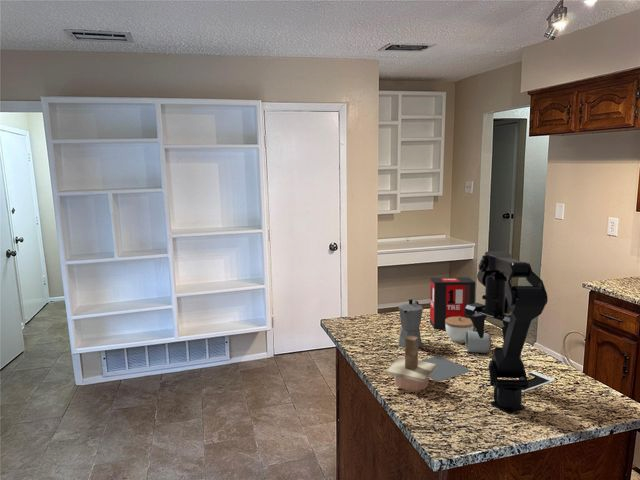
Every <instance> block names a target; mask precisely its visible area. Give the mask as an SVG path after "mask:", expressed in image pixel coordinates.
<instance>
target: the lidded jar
mask: <svg viewBox="0 0 640 480" xmlns="http://www.w3.org/2000/svg"><path fill="white" fill-rule="evenodd" d="M445 327H446V329H445V332H446V335H447V337H449V338H450V340H451V341H452V342H454V343H460V344H461V343H466V332H467V331H474V329H473V327H474V328H475V326H474V324H473V323H472V321H471V319H469V318H465V317H461V316H458V317H449V318H446V319H445Z"/></svg>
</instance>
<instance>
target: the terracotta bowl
mask: <svg viewBox="0 0 640 480" xmlns="http://www.w3.org/2000/svg"><path fill="white" fill-rule="evenodd" d="M393 377H394V379H393V380H394V384H395V386H396V387H398V388H399V389H401V390H405V391H411V392H413V391H422V390H425V389H426V388H427V387H428V386H429V378H428V379H427V380H426V381H425V383H424V382H420V381H415V380H411V379H406V378H401V377H397V376H393Z"/></svg>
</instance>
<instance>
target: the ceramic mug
mask: <svg viewBox="0 0 640 480" xmlns="http://www.w3.org/2000/svg"><path fill="white" fill-rule="evenodd" d="M465 349H466V353H477V354H489V353H490V352H491V350H492V337H491V335H490V334H489V333H487V332H484V336H483V338H480V337H479V335H478V333H477V331H476V330H475V331H474V330H473V331H467V332H466V342H465Z"/></svg>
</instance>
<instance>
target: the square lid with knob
mask: <svg viewBox="0 0 640 480" xmlns="http://www.w3.org/2000/svg"><path fill="white" fill-rule="evenodd" d="M404 352H405V353H404V357H403V356H402V357H401V356H399V357H398V358H397V359H396V360H395V361H394V362H393V363H392V364H391V365H390V366H389V367H388V368H387V369H386V370H385V375H388V376H393V377H394V376H397V377H401V378H406V379H411V380H415V381H420V382H424V383H425V381H426V380H427V379H428V380H429V378H430V377H429V376H430V375H431V373H432V372H433V371H434V370H435V368H436V364H433V363H428V362H423V361H421V360H419V347H418V337H415V336H408V337H406V338H405V347H404Z"/></svg>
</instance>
